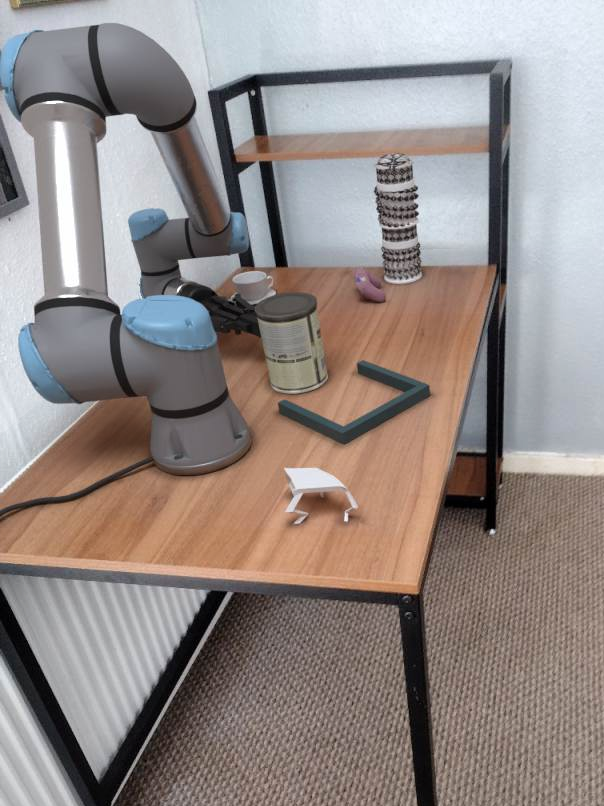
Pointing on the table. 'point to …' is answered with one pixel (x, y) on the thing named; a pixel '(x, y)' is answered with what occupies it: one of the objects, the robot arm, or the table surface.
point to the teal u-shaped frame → (345, 434)
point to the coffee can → (292, 342)
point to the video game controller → (369, 285)
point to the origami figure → (313, 487)
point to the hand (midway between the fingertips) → (265, 330)
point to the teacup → (253, 286)
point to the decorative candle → (398, 218)
